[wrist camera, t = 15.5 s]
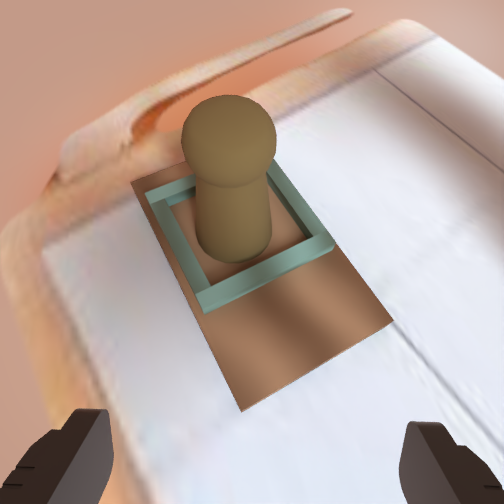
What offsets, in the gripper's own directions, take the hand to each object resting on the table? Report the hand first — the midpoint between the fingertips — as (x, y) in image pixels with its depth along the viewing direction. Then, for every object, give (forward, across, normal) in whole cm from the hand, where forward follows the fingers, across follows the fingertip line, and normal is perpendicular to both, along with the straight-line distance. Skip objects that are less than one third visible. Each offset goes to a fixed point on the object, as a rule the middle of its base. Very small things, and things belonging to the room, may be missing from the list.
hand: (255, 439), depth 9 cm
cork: (+19, +2, -1) cm, 19 cm away
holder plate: (+19, +1, +1) cm, 19 cm away
